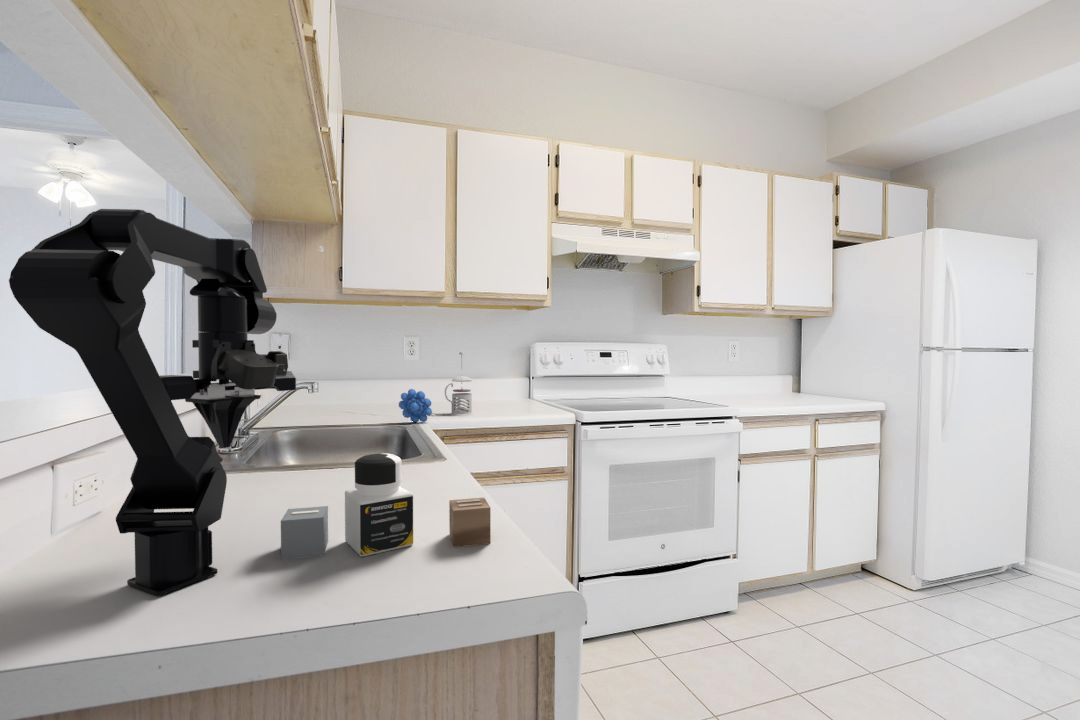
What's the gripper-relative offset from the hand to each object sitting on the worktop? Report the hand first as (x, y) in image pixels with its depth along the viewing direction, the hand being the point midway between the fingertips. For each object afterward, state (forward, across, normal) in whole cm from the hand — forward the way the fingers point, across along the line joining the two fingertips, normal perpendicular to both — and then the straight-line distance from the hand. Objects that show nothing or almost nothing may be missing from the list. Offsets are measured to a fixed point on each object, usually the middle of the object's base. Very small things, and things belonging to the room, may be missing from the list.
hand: (224, 447), depth 72 cm
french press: (+13, +128, +52) cm, 138 cm away
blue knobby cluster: (+13, +101, +51) cm, 114 cm away
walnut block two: (+13, +16, -29) cm, 36 cm away
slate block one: (+13, +3, -12) cm, 18 cm away
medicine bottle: (+13, +9, -19) cm, 25 cm away
